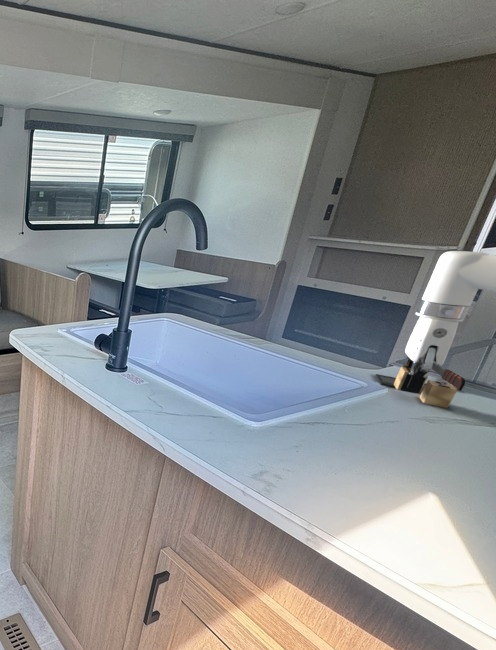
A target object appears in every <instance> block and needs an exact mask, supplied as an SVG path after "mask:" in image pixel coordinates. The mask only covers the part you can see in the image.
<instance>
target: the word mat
mask: <svg viewBox="0 0 496 650" xmlns="http://www.w3.org/2000/svg"><path fill="white" fill-rule="evenodd" d="M375 377H376V379H377V380H378V382H379V383H378V384H380V385H381V386H384V387H390V388H394V389H396V387H395V386H394V382H395V380H396V378H397V377H393V376H389V375H383V374H378V373H375ZM426 383H427V382H425V384H424V386H423V388H422V391H423V389H424V387H425V385H426ZM422 391H421V393H422ZM421 393H420V394H421Z"/></svg>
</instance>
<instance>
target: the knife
mask: <svg viewBox="0 0 496 650" xmlns="http://www.w3.org/2000/svg"><path fill="white" fill-rule="evenodd" d="M431 371H433V372H435V373H436V374H437V375H439V376H440V378H441V379H442V380H443V381H445V382H446V383H447V384H452V385H453V386H454V387H455V388H456V389H457V391H459V392H461V391H463V389H464V387H465V385H466V379H465V378H464V377H463V376H461V375H459V374H457V373H455V372H453V371H452V370H450V369H447V368H444V367H442V366H436V365H435V364H434V363H433V365H432V369H431Z"/></svg>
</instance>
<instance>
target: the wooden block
mask: <svg viewBox="0 0 496 650" xmlns="http://www.w3.org/2000/svg"><path fill="white" fill-rule="evenodd" d="M410 369H411V368H408V367H403V366H400V368H399V371H398V373H397V375H396V377H395V378H396V380H395V382H394V386H395V387H396V388H395V389H396V390H397V391H401V390H400V388H401V385H402V383H403V381H404V379H405V376H406V374H409V372H410ZM428 378H429V374H428V375H427V377H426V379H425V381H424V384H425V383H427V381H428ZM424 384H423V386H424ZM423 386H422V388H423ZM422 388H421V390H420V392H419V393H417V394H419V395H421V391H422Z"/></svg>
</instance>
